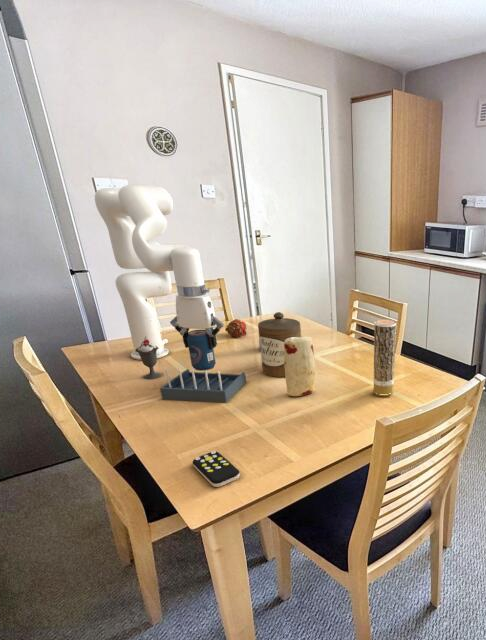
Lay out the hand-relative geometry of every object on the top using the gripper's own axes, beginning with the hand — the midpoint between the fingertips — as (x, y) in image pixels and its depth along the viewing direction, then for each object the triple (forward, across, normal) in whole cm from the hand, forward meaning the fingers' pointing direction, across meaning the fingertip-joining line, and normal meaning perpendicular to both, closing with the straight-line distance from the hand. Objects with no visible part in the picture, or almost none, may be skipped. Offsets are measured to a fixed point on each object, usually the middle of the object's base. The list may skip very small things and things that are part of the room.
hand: (200, 346), depth 129 cm
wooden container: (+15, -19, -20) cm, 31 cm away
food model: (+15, -31, 0) cm, 35 cm away
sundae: (+15, +23, -8) cm, 29 cm away
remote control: (+15, -23, +44) cm, 52 cm away
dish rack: (+15, 0, +1) cm, 15 cm away
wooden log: (+15, -58, -4) cm, 60 cm away
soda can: (+7, 0, 0) cm, 7 cm away
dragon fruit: (+15, +14, -57) cm, 61 cm away
